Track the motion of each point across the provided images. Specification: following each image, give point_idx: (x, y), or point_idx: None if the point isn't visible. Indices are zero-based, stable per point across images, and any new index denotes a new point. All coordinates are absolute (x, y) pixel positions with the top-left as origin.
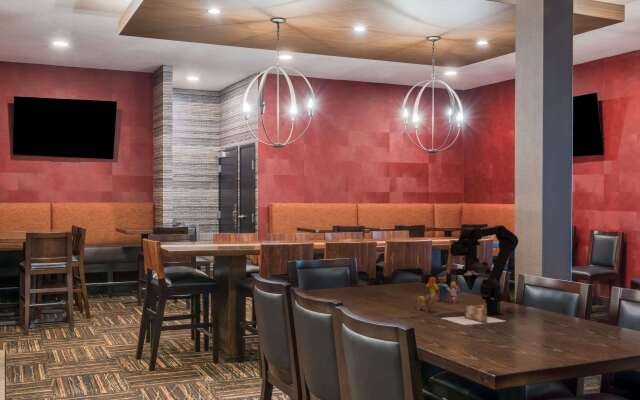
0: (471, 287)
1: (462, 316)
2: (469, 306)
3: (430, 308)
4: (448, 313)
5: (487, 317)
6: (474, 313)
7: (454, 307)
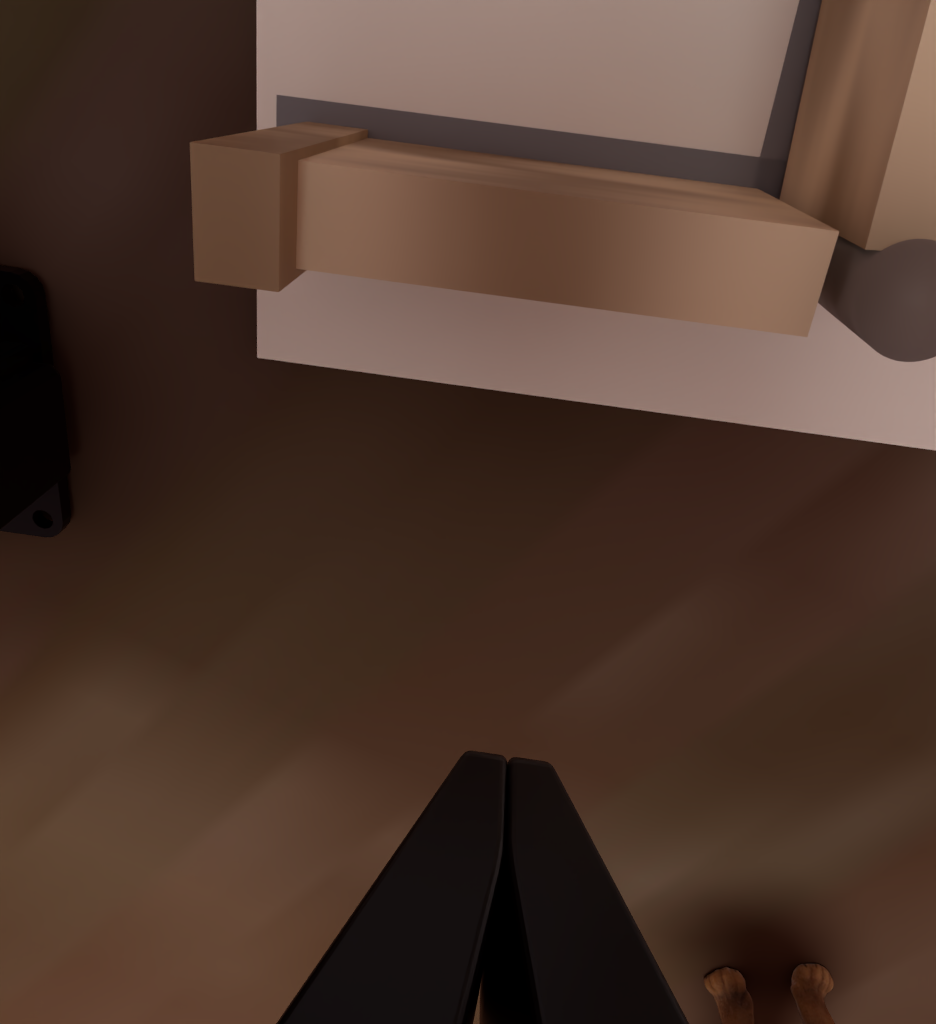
0: (515, 834)
1: (740, 408)
2: (891, 207)
3: (733, 1019)
4: (636, 768)
5: (354, 10)
6: None
7: (197, 995)
